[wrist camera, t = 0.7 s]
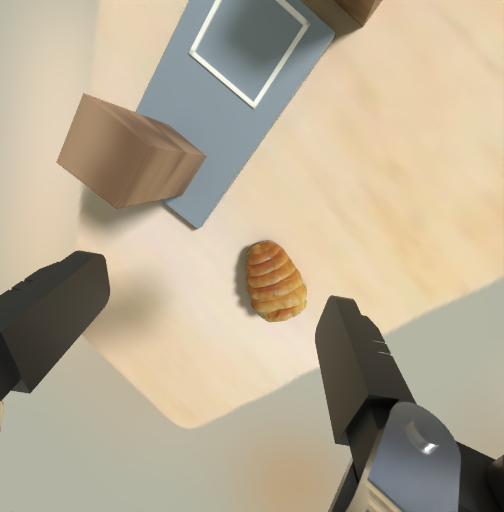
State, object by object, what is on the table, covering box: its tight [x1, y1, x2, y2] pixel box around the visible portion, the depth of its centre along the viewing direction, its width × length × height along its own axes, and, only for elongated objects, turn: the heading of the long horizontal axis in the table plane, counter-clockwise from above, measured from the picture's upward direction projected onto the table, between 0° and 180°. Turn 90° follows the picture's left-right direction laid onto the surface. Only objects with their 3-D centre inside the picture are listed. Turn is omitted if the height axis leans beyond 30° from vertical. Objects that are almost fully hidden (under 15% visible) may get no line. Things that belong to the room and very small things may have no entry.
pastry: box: [245, 240, 307, 322], centre depth 29 cm, size 9×7×4 cm
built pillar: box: [57, 94, 207, 209], centre depth 22 cm, size 5×5×11 cm
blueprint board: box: [136, 0, 335, 229], centre depth 25 cm, size 12×22×1 cm, turn 142°
